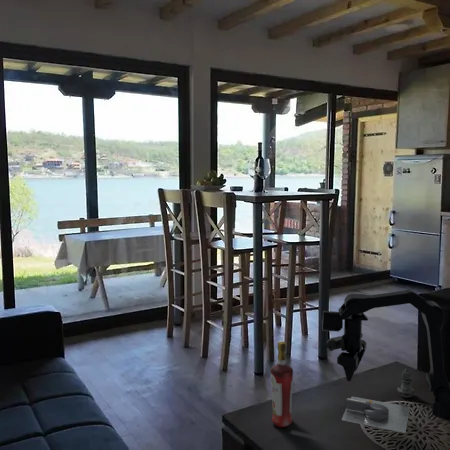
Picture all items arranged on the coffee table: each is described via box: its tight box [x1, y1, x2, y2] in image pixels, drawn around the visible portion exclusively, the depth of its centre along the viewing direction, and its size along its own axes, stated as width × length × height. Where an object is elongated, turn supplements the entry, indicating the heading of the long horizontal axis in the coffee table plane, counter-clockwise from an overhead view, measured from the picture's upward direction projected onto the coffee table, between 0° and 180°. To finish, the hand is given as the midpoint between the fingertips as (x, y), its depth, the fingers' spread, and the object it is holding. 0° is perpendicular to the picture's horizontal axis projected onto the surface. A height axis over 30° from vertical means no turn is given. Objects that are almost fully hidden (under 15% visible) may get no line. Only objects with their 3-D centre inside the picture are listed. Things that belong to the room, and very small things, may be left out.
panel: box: [341, 396, 411, 434], centre depth 163 cm, size 20×18×1 cm
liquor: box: [270, 340, 294, 428], centre depth 158 cm, size 7×7×28 cm
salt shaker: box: [397, 367, 415, 399], centre depth 174 cm, size 6×6×12 cm
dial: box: [345, 397, 389, 421], centre depth 163 cm, size 14×8×4 cm, turn 65°
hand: (351, 375), depth 164 cm, fingers open, 9 cm apart
